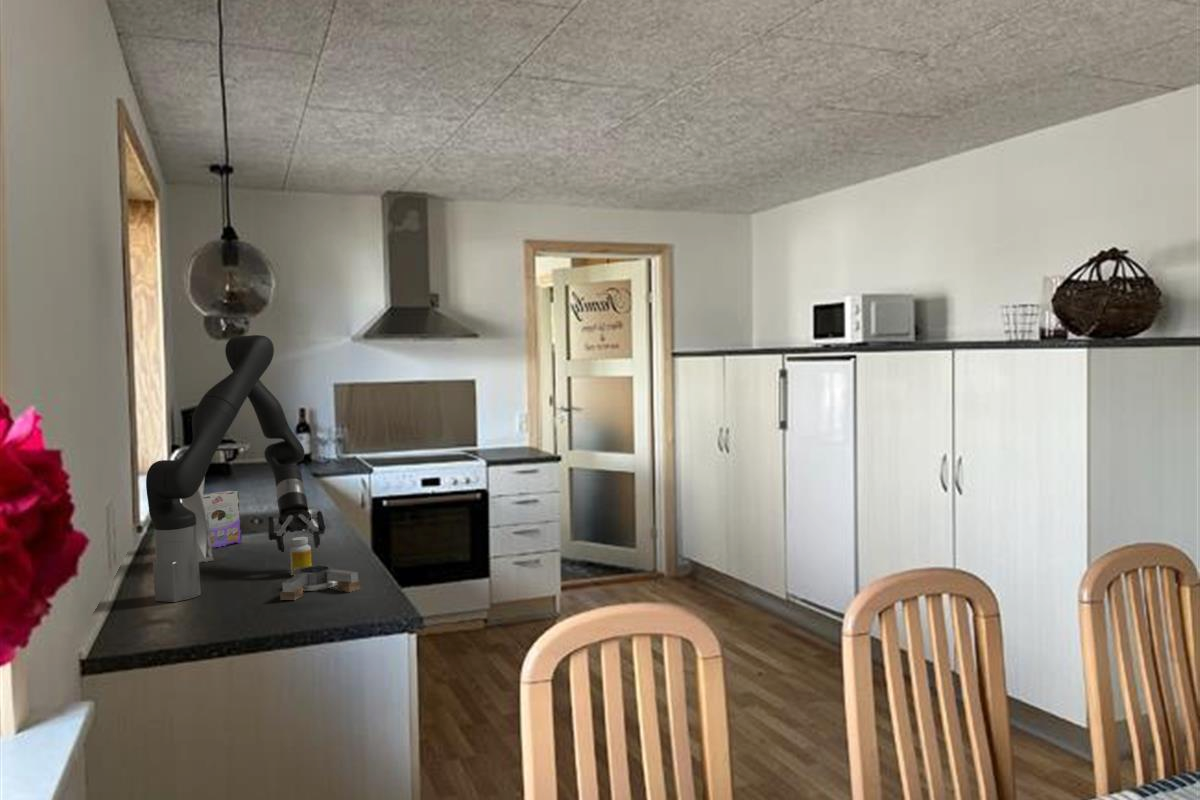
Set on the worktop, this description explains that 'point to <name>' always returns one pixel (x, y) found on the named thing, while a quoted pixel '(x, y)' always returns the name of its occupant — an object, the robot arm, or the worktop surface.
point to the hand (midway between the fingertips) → (299, 548)
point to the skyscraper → (200, 524)
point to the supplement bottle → (300, 554)
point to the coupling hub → (316, 577)
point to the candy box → (223, 517)
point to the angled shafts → (331, 575)
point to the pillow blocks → (340, 587)
